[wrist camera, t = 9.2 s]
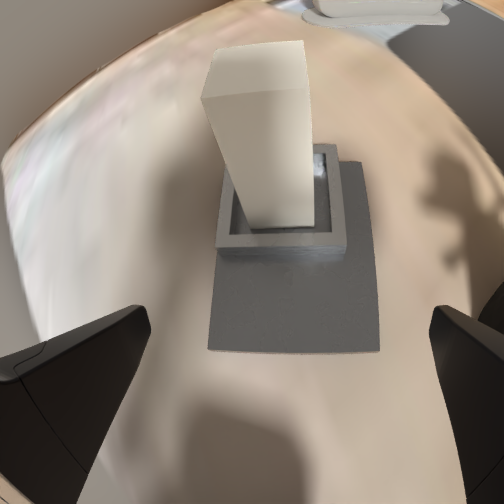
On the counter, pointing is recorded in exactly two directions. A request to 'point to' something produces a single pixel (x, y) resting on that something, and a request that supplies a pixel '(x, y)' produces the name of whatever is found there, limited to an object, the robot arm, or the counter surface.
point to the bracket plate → (298, 272)
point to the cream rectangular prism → (264, 130)
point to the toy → (494, 311)
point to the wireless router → (374, 13)
